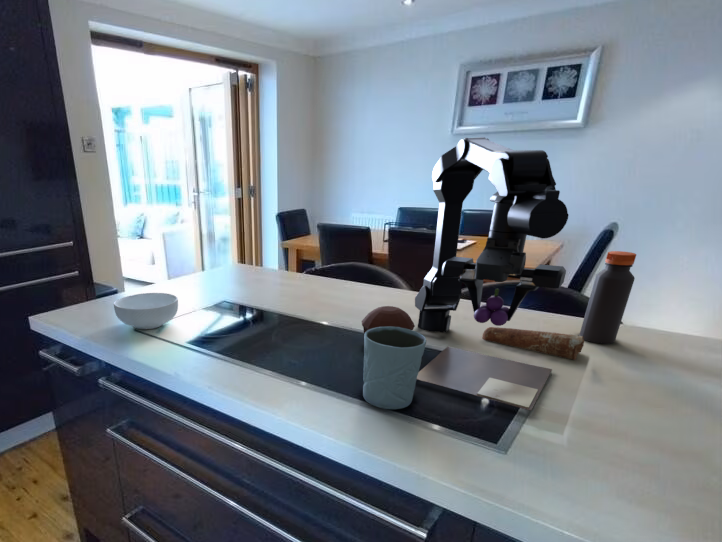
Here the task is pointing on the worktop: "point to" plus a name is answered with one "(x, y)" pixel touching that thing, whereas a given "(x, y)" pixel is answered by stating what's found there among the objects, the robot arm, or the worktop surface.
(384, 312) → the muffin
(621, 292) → the bottle
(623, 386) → the worktop surface
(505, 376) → the serving board
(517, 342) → the bread
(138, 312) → the cereal bowl
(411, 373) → the grey green cup
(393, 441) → the worktop surface
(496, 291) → the grapes
